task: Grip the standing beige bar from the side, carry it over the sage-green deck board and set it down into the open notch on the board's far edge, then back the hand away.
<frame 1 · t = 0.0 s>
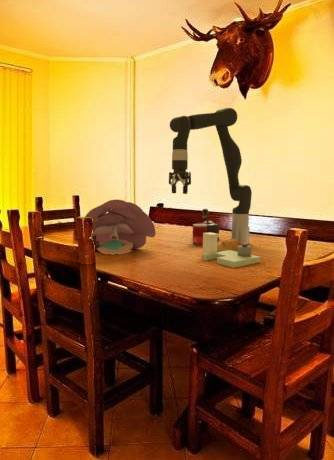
hand: (179, 193, 173), 29 cm above the table, tool pointing down, fingers open, 8 cm apart
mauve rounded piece: (116, 251, 181), on the table
croissant: (228, 251, 183), on the table
deck: (231, 260, 160), on the table
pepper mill: (205, 238, 221), on the table
canned food: (199, 244, 202), on the table
beige bar: (209, 256, 170), on the table
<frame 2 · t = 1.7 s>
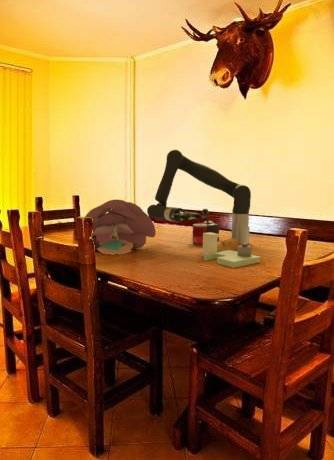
hand: (194, 217, 176), 18 cm above the table, tool horizontal, fingers open, 8 cm apart
nothing on the table moved.
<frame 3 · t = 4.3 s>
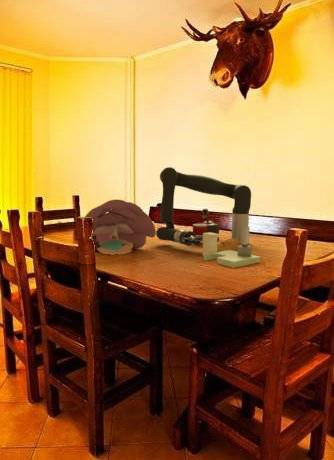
hand: (206, 241, 171), 7 cm above the table, tool horizontal, fingers open, 8 cm apart
nothing on the table moved.
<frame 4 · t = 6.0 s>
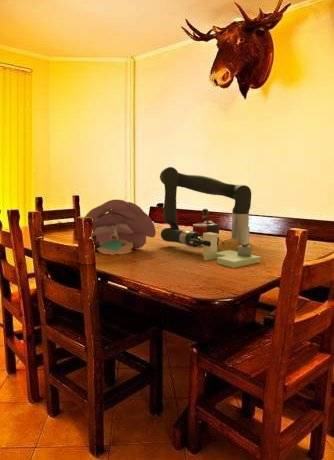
hand: (214, 243, 167), 7 cm above the table, tool horizontal, fingers closed on beige bar, 4 cm apart
beige bar: (209, 256, 170), on the table, touching gripper
everything else where it was.
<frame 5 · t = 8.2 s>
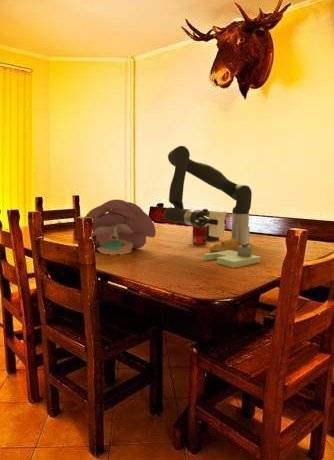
hand: (221, 222, 155), 18 cm above the table, tool horizontal, fingers closed on beige bar, 4 cm apart
beige bar: (216, 236, 158), point 11 cm above the table, touching gripper
everything else where it was.
when the fingers open (8 cm above the table, at t = 10.8 s): beige bar drops 2 cm, on the table.
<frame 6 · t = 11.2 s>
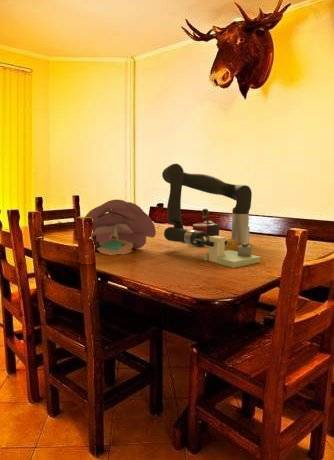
hand: (220, 243, 157), 8 cm above the table, tool horizontal, fingers open, 8 cm apart
beige bar: (216, 260, 160), on the table
everything else where it was.
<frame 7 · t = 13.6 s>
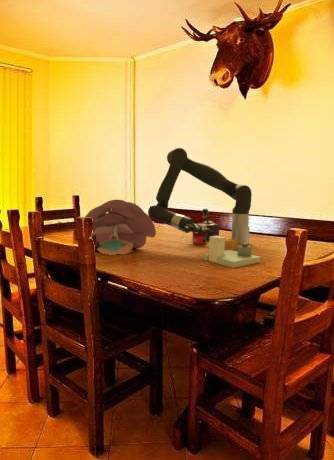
hand: (209, 233, 170), 11 cm above the table, tool horizontal, fingers open, 8 cm apart
nothing on the table moved.
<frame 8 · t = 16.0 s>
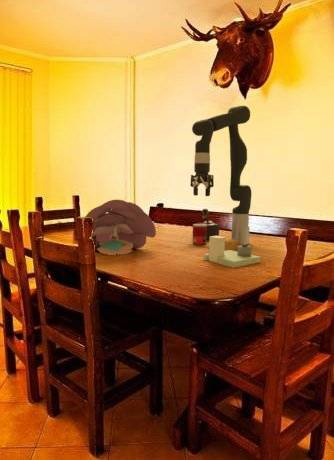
hand: (201, 195, 177), 28 cm above the table, tool pointing down, fingers open, 8 cm apart
nothing on the table moved.
at the end: beige bar 0.4 cm from the target spot, on the table; beige bar tilted 0°; the gripper is holding nothing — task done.
